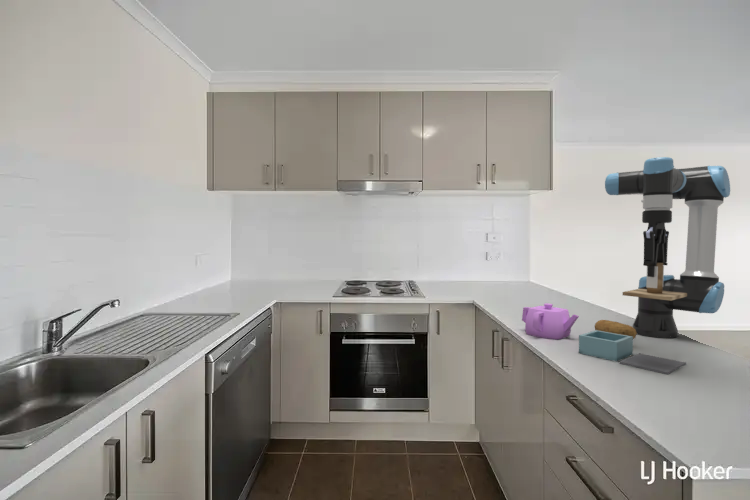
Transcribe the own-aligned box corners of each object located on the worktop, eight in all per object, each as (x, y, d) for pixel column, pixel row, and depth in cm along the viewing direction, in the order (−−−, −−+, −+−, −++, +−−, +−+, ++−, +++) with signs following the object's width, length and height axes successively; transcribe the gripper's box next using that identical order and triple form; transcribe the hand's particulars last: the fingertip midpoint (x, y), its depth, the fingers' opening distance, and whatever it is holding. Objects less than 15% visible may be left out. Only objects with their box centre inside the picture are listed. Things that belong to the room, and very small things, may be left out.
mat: (639, 354, 144) (639, 353, 144) (686, 364, 134) (686, 362, 134) (619, 363, 135) (619, 361, 135) (667, 374, 125) (667, 372, 125)
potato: (627, 350, 150) (628, 326, 150) (588, 341, 162) (589, 319, 162) (642, 346, 155) (643, 323, 155) (603, 337, 167) (604, 317, 167)
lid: (639, 291, 143) (640, 260, 142) (687, 296, 132) (688, 263, 132) (622, 295, 135) (623, 262, 134) (671, 300, 124) (672, 265, 124)
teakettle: (519, 329, 181) (520, 300, 180) (561, 330, 180) (562, 300, 180) (533, 340, 164) (533, 307, 163) (579, 340, 163) (580, 307, 163)
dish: (595, 347, 154) (596, 330, 154) (632, 354, 144) (633, 336, 144) (578, 353, 146) (579, 335, 146) (616, 361, 137) (617, 342, 137)
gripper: (654, 211, 140) (652, 283, 142) (631, 209, 130) (629, 288, 131) (681, 210, 135) (679, 286, 136) (660, 208, 124) (657, 290, 125)
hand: (654, 286), depth 133 cm, fingers closed on lid, 4 cm apart
